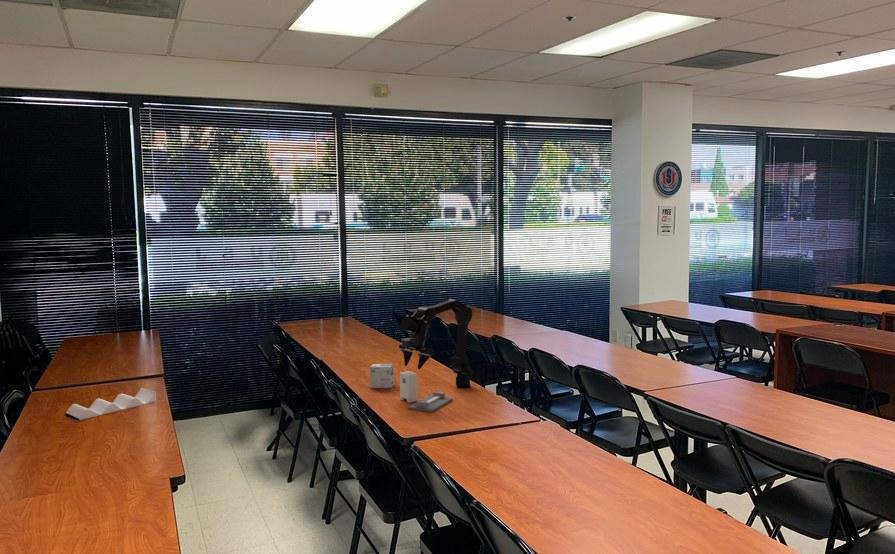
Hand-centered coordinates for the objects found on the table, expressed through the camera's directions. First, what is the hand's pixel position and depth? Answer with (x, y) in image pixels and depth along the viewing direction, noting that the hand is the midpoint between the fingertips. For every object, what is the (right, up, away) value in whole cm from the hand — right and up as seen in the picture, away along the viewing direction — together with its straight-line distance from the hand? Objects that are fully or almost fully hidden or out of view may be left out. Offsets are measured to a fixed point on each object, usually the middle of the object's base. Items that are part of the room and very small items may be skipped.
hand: (412, 367), depth 306 cm
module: (-2, -15, +1) cm, 15 cm away
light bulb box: (-16, -13, +25) cm, 33 cm away
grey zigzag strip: (-135, -18, -5) cm, 136 cm away
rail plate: (+9, -16, -7) cm, 19 cm away
